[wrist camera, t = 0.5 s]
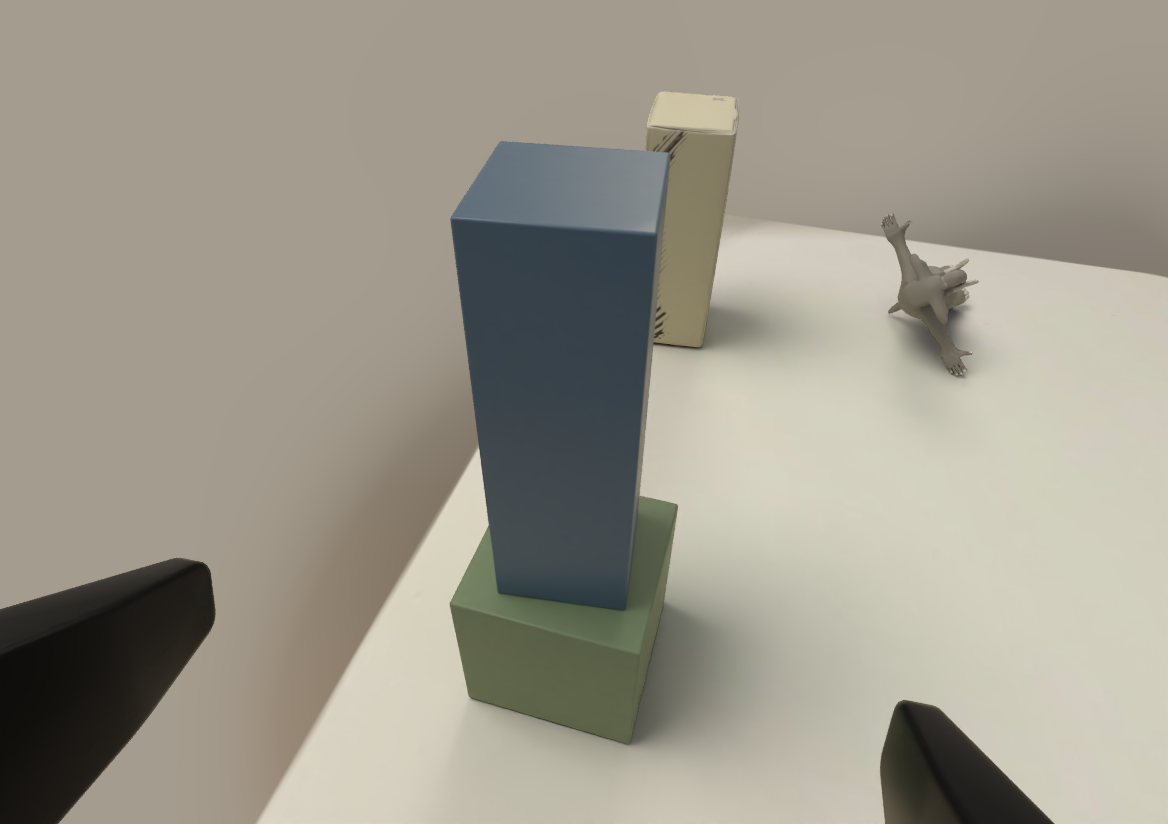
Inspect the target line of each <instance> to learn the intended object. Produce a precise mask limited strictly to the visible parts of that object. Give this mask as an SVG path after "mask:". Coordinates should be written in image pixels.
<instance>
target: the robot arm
mask: <svg viewBox="0 0 1168 824" xmlns="http://www.w3.org/2000/svg"><path fill="white" fill-rule="evenodd" d="M214 620H215V604H214V595H213V587H212V579H211V573H210V569H209V568H208V566H207V565H206V564H204V563H203V562H199V561H194V560H189V559H183V558H174V559H170V560H167V561H163V562H160V563H156V564H153V565H150V566H146V567H143V568H140V569H136V570H133V571H129V572H126V573H122V574H119V575H116V576H112V577H109V578H105V579H102V580H98V581H95V582H92V583H88V584H85V585H81V586H78V587H75V588H72V589H68V590H65V591H61V592H58V593H55V594H51V595H48V596H44V597H41V598H37V599H34V600H30V601H27V602H24V603H20V604H17V605H13V606H10V607H6V608H3V609H0V824H58V823H59V822H60V821H61V820H62V819H63V818H64V816H65V815H66V814H67V813H68V812H69V811H70V809H71V808H72V807H73V806H74V805H75V804H76V802H77V801H78V800H79V799H80V798H81V797H82V796H83V794H84V793H85V792H86V791H87V790H88V789H89V787H90V786H91V785H92V784H93V783H94V782H95V780H96V779H97V778H98V777H99V776H100V775H101V773H102V772H103V771H104V770H105V769H106V768H107V766H108V765H109V764H110V763H111V762H112V761H113V760H114V758H115V757H116V756H117V755H118V754H119V753H120V751H121V750H122V749H123V748H124V747H125V746H126V744H127V743H128V742H129V741H130V740H131V738H132V737H133V736H134V735H135V734H136V732H137V731H138V730H139V729H140V727H141V726H142V725H143V723H144V722H145V720H146V719H147V718H148V717H149V716H150V714H151V713H152V712H153V710H154V709H155V707H156V706H157V705H158V703H159V702H160V700H161V699H162V698H163V696H164V695H165V694H166V692H167V691H168V689H169V688H170V687H171V685H172V684H173V682H174V681H175V680H176V678H177V677H178V675H179V674H180V673H181V671H182V670H183V668H184V667H185V666H186V664H187V663H188V661H189V660H190V659H191V657H192V656H193V655H194V653H195V652H196V650H197V649H198V648H199V646H200V645H201V644H202V642H203V641H204V639H205V638H206V637H207V635H208V634H209V632H210V631H211V629H212V626H213V624H214ZM880 776H881V787H882V796H883V806H884V816H885V824H1054V823H1053V822H1052V821H1051V820H1050V819H1049V818H1048V817H1047V816H1046V815H1045V814H1044V813H1043V812H1042V811H1041V810H1040V809H1039V808H1038V807H1037V806H1036V805H1035V804H1034V803H1033V802H1032V801H1031V800H1030V799H1029V798H1028V797H1027V796H1026V795H1025V794H1024V793H1023V792H1022V791H1021V790H1020V789H1019V788H1018V787H1017V786H1016V785H1015V784H1014V783H1013V782H1012V781H1011V780H1010V779H1009V778H1008V777H1007V776H1006V775H1005V774H1004V773H1003V772H1002V771H1001V770H1000V769H999V768H998V767H997V766H996V765H995V764H994V763H993V762H992V761H991V760H990V759H989V758H988V757H987V756H986V755H985V754H984V753H983V752H982V751H981V750H980V749H979V748H978V747H977V746H976V745H975V744H974V743H973V742H972V741H971V740H970V739H969V738H968V737H967V736H966V735H965V734H964V733H963V732H962V731H961V730H960V729H959V728H958V727H957V726H956V725H955V724H954V723H953V722H952V721H951V720H950V719H949V718H948V717H947V716H946V715H945V714H944V713H943V712H942V711H941V710H940V709H939V708H937V707H936V706H933V705H929V704H923V703H918V702H913V701H908V700H902V701H900V702H898V703H897V705H896V707H895V709H894V712H893V715H892V719H891V722H890V726H889V729H888V733H887V736H886V740H885V743H884V747H883V751H882V755H881V763H880Z"/></svg>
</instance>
